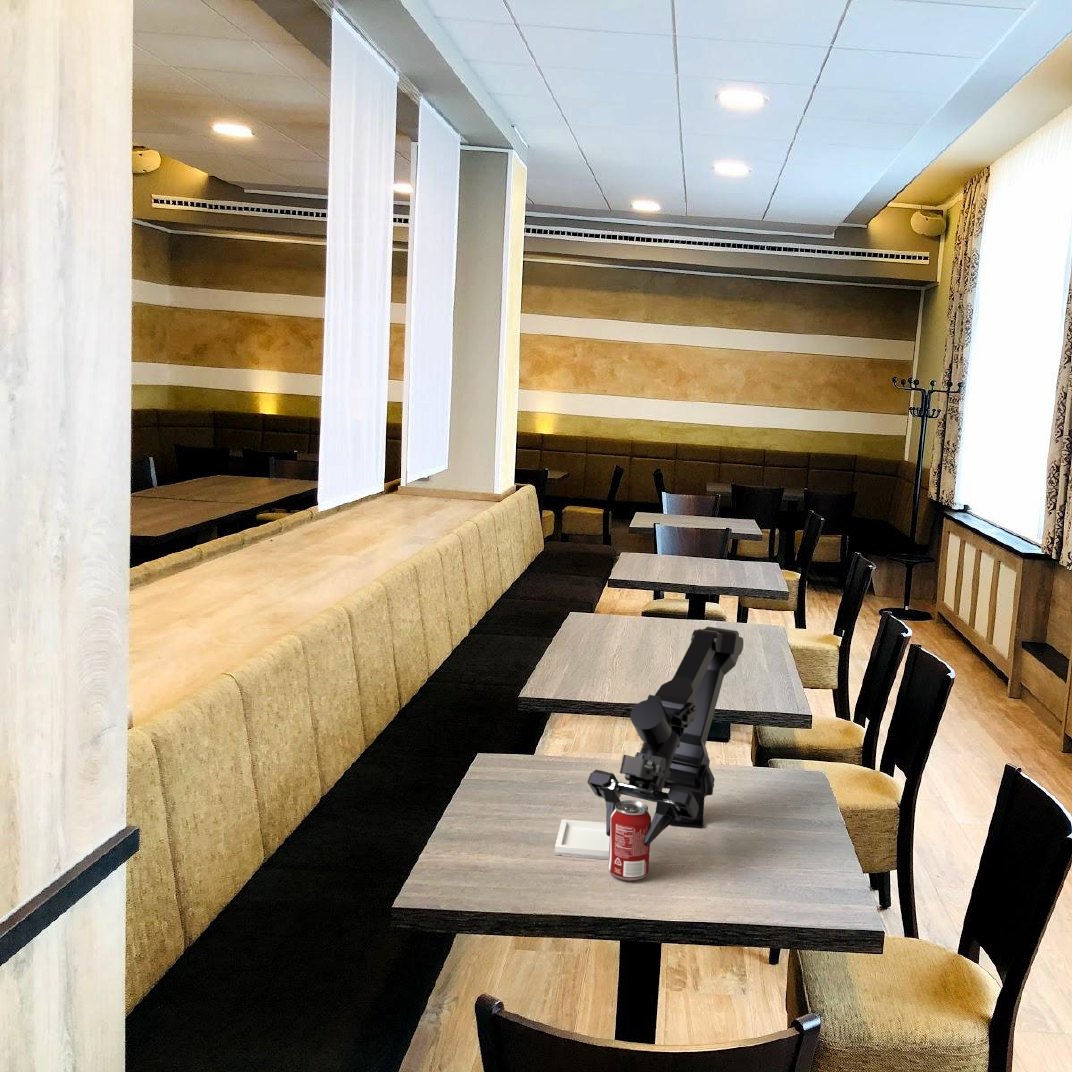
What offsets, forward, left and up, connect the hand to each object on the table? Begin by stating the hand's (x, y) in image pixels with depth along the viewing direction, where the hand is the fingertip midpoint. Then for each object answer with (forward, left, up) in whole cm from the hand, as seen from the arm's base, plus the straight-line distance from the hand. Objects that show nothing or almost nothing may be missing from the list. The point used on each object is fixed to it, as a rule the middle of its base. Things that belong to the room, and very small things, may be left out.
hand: (626, 840), depth 184 cm
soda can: (-1, -1, -7) cm, 7 cm away
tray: (+6, -12, -7) cm, 15 cm away
